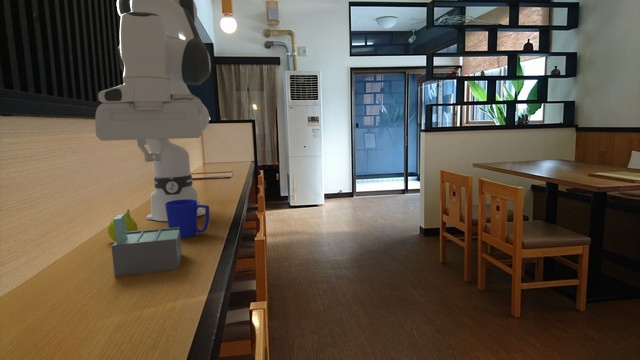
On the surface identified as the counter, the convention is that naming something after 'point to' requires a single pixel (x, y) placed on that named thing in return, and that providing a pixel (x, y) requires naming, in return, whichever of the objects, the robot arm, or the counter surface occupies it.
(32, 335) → the counter surface
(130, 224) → the pear
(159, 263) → the grey box
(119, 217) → the lid
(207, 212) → the mug
